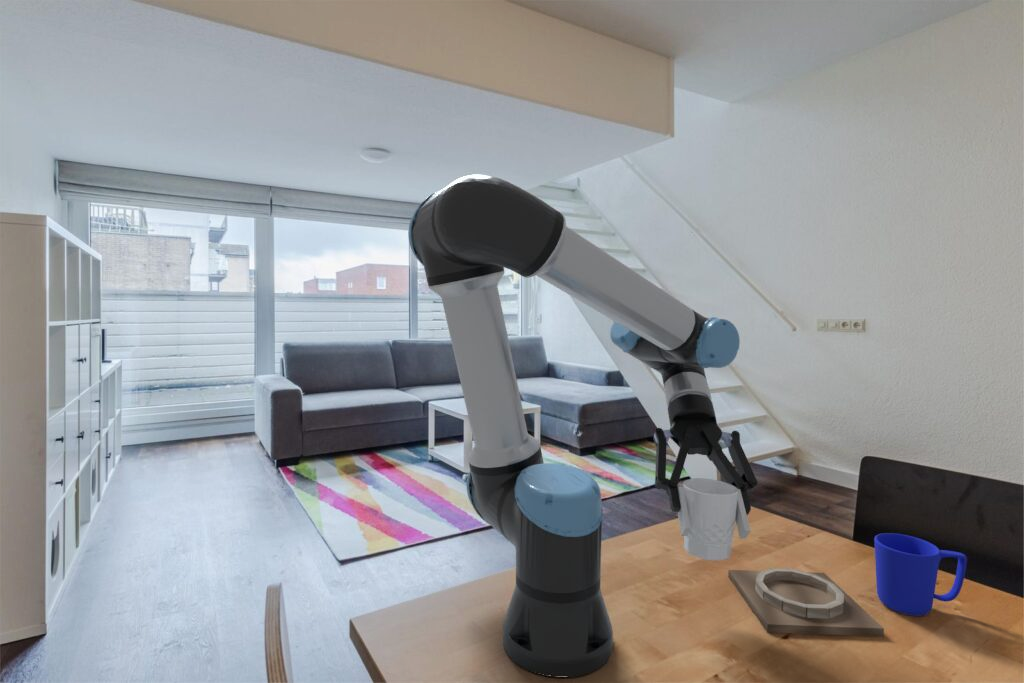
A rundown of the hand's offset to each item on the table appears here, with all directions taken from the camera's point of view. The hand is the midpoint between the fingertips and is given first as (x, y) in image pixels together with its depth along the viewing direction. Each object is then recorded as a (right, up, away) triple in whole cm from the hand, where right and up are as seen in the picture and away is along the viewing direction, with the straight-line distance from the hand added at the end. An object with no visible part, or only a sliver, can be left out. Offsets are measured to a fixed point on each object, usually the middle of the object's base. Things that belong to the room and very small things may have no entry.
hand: (715, 533), depth 77 cm
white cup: (0, -4, +4) cm, 6 cm away
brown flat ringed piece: (+15, -13, +6) cm, 21 cm away
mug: (+33, -14, +5) cm, 36 cm away
